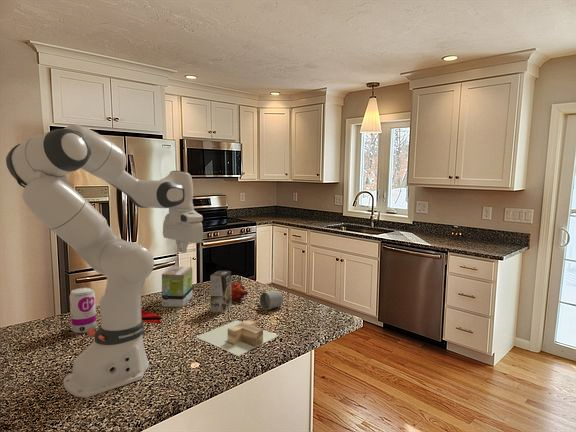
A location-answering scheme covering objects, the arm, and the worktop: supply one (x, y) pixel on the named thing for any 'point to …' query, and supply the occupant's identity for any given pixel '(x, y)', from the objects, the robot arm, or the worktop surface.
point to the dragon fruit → (237, 291)
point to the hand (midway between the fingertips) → (182, 252)
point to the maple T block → (246, 333)
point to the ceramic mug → (271, 299)
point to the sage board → (221, 340)
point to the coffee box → (220, 291)
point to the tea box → (176, 286)
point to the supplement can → (82, 310)
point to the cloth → (149, 315)
